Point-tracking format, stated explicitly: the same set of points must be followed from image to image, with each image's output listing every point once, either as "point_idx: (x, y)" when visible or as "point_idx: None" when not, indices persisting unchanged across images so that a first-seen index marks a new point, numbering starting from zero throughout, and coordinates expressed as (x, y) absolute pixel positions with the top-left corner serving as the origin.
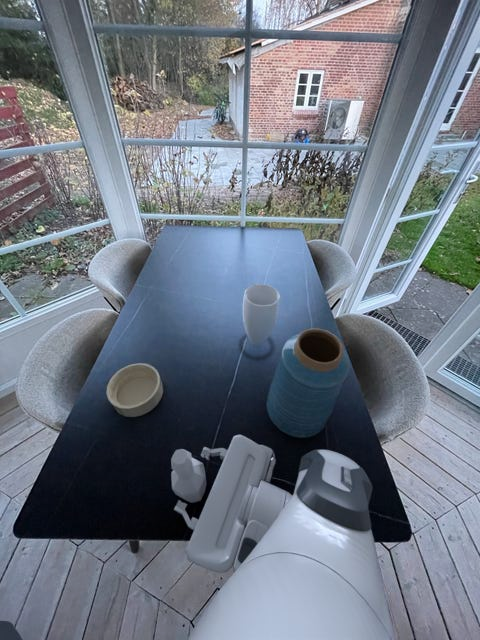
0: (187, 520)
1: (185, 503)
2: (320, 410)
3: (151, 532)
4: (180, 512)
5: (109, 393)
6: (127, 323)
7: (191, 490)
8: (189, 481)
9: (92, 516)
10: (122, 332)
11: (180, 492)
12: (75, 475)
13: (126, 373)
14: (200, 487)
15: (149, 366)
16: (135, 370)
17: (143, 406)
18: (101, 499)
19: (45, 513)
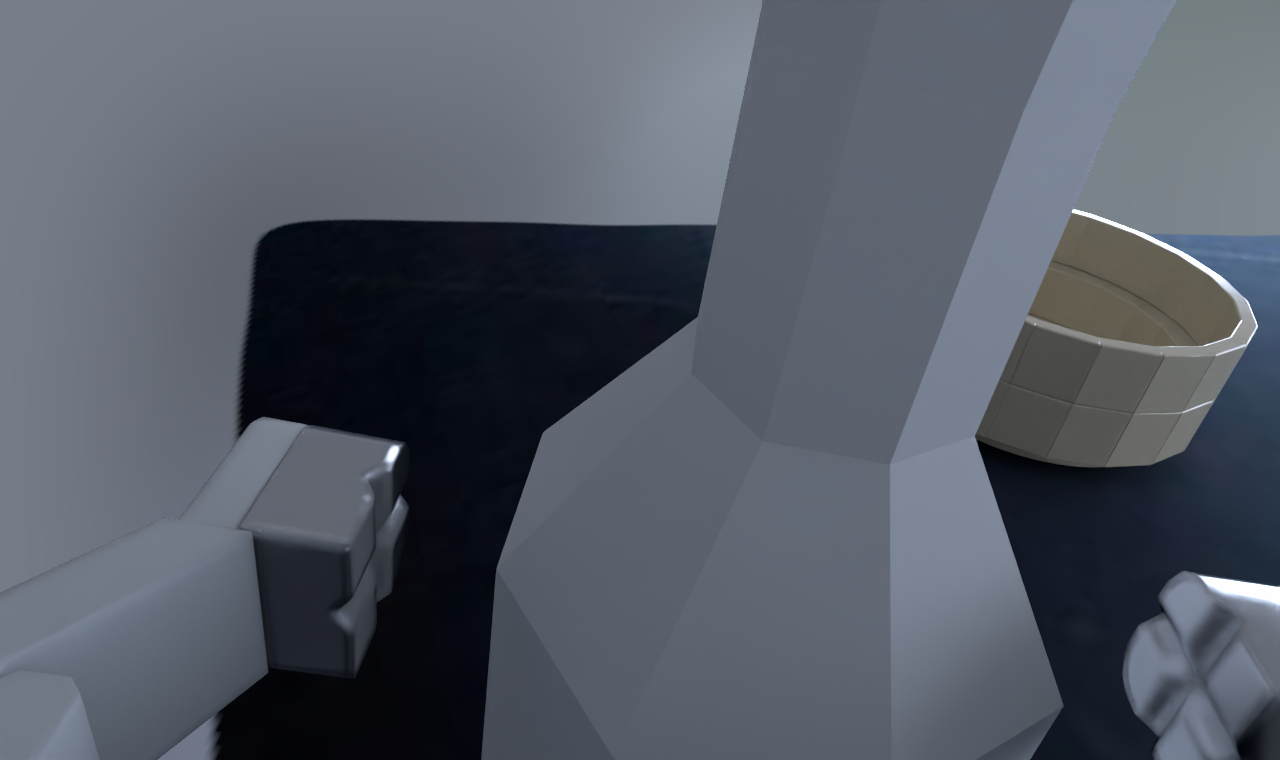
0: (29, 605)
1: (360, 519)
2: None
3: (228, 718)
4: (206, 482)
5: None
6: (1258, 252)
7: (597, 619)
8: (716, 453)
9: (325, 389)
10: (1202, 250)
11: (526, 507)
12: (505, 289)
13: (1073, 263)
14: None
15: (1232, 292)
16: (1125, 288)
17: None
18: (416, 397)
19: (328, 257)
